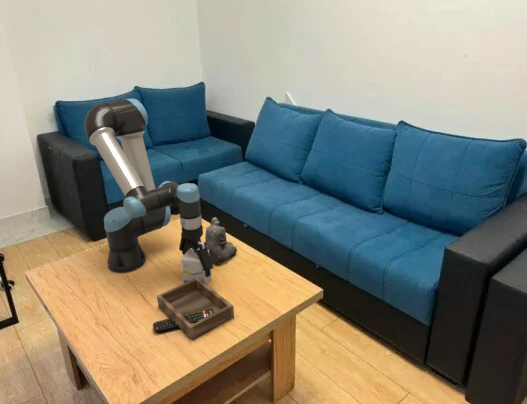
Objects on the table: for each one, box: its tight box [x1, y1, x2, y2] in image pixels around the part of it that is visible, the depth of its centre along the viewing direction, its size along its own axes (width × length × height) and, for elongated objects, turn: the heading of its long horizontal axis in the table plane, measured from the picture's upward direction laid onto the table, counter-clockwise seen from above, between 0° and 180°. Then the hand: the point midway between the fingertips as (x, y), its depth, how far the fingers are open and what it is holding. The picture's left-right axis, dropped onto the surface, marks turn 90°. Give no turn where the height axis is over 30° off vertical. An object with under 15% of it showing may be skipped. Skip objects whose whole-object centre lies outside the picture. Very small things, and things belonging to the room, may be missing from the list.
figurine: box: [204, 216, 238, 265], centre depth 176 cm, size 13×12×18 cm
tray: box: [156, 278, 235, 342], centre depth 147 cm, size 22×16×5 cm
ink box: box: [180, 248, 212, 285], centre depth 163 cm, size 9×8×12 cm
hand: (197, 275), depth 165 cm, fingers open, 13 cm apart
